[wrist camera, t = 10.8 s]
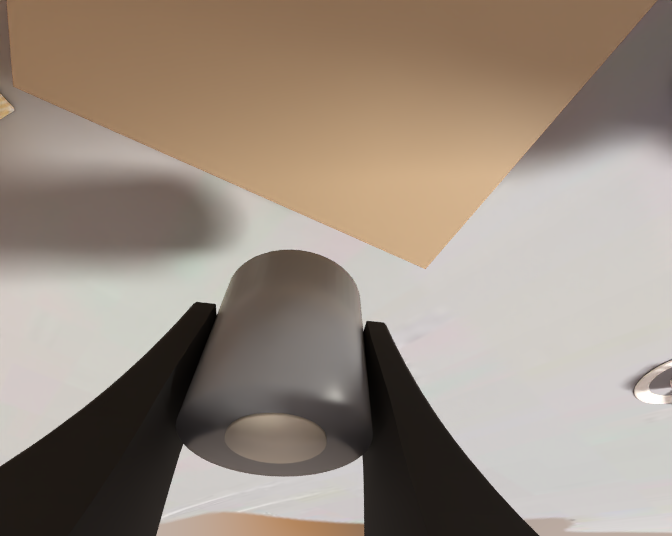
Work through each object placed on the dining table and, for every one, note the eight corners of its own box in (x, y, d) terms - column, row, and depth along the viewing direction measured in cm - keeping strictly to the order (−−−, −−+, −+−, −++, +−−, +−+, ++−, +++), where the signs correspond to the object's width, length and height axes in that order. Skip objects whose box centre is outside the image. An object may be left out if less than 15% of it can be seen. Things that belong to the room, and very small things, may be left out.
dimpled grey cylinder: (386, 286, 12) (413, 425, 8) (319, 359, 14) (314, 491, 10) (259, 225, 10) (212, 361, 6) (209, 319, 13) (153, 457, 9)
